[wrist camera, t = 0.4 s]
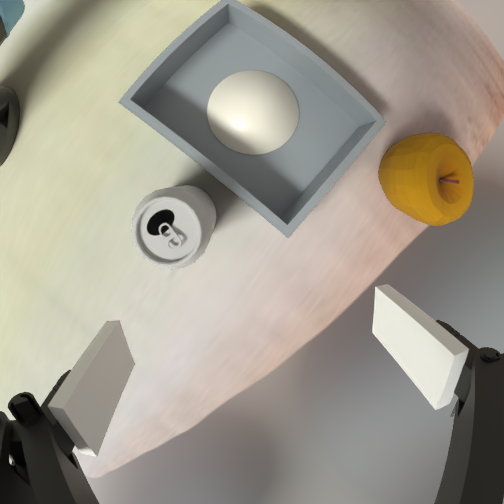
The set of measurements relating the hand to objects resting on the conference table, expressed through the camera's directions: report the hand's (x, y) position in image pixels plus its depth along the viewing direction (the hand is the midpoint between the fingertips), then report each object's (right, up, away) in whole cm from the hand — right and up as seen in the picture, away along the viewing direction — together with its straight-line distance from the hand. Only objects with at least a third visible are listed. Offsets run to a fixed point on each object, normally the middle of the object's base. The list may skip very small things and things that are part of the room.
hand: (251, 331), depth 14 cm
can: (-8, +8, +22) cm, 25 cm away
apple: (+20, +14, +22) cm, 33 cm away
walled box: (0, +21, +19) cm, 28 cm away
